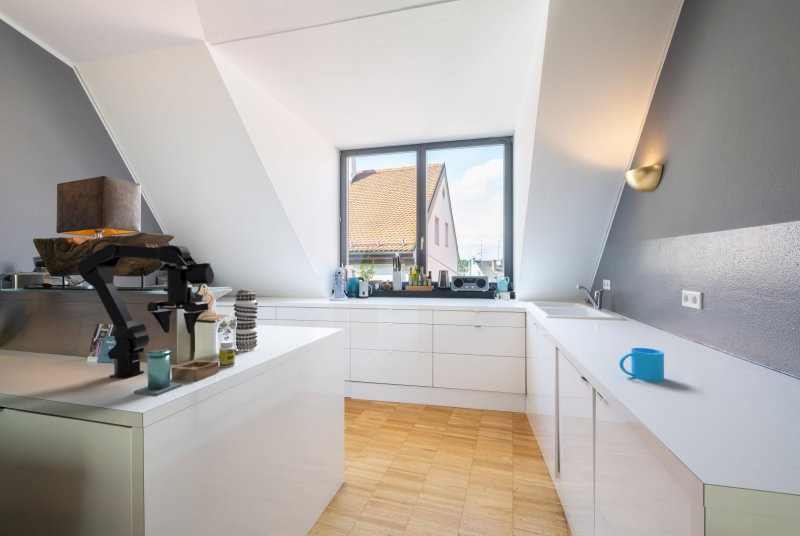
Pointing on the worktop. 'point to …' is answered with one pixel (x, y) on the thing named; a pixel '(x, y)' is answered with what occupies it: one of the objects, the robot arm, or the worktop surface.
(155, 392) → the mat
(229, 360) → the supplement bottle
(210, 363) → the wooden tray
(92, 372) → the worktop surface
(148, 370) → the teal glass jar
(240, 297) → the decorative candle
